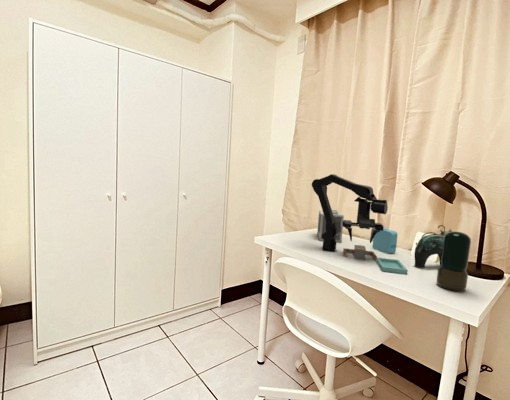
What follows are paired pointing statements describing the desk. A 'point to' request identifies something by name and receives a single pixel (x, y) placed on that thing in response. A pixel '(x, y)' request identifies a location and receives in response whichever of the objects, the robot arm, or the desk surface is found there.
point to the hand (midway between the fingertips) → (360, 241)
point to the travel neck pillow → (429, 247)
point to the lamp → (454, 261)
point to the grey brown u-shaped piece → (353, 252)
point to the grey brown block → (359, 252)
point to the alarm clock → (322, 223)
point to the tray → (391, 265)
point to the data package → (385, 241)
